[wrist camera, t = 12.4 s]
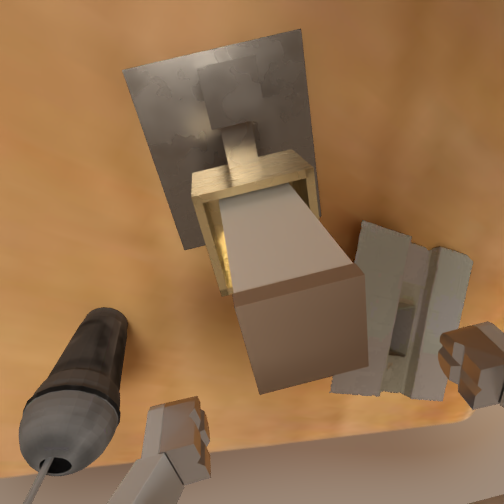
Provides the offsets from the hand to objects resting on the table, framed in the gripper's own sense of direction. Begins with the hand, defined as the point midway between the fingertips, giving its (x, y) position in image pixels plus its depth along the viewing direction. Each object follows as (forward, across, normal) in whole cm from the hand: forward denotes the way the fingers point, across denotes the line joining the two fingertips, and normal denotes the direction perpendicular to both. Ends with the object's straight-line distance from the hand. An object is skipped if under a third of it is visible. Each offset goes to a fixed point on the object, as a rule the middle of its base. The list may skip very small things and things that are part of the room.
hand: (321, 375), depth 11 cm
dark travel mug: (+24, +18, +13) cm, 33 cm away
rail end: (+15, 0, 0) cm, 15 cm away
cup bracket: (+24, 0, -2) cm, 24 cm away
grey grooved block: (+24, -14, +18) cm, 33 cm away
